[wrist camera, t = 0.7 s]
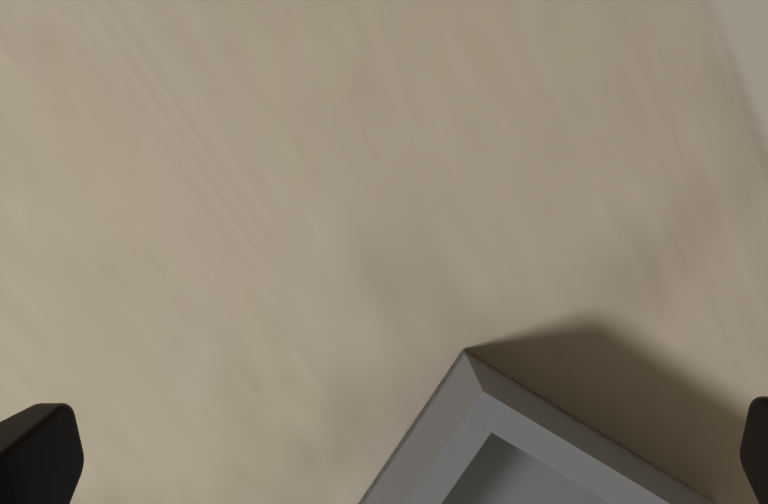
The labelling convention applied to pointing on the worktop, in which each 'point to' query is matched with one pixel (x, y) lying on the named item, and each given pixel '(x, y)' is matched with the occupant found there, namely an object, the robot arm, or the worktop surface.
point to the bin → (513, 452)
